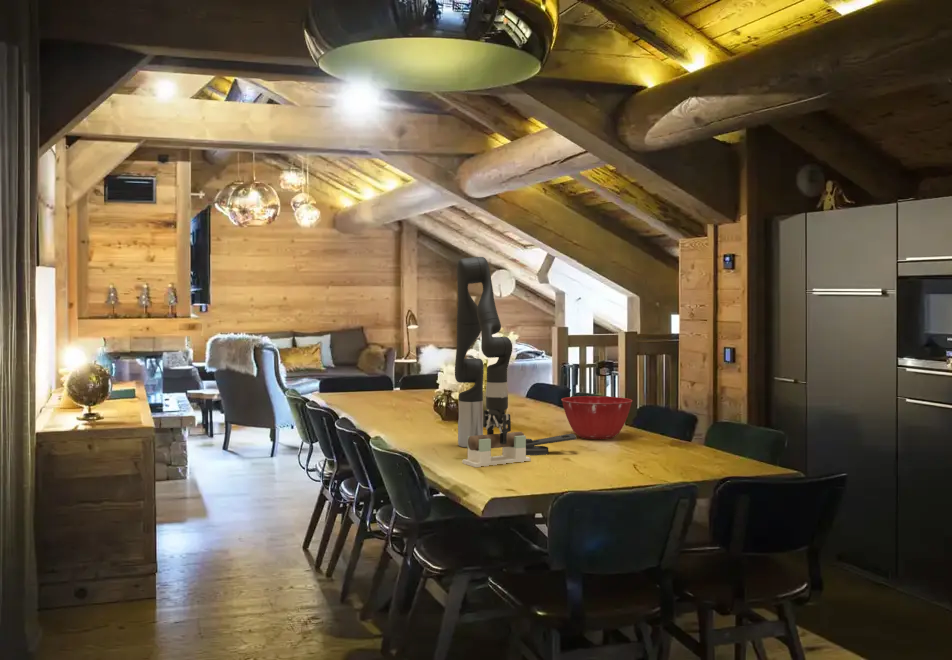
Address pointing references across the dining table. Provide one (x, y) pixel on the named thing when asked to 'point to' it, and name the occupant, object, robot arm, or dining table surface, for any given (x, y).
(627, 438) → the dining table surface
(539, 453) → the zipper pull
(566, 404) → the mixing bowl
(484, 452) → the white cradle stand
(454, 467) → the dining table surface
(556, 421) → the dining table surface
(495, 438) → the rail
